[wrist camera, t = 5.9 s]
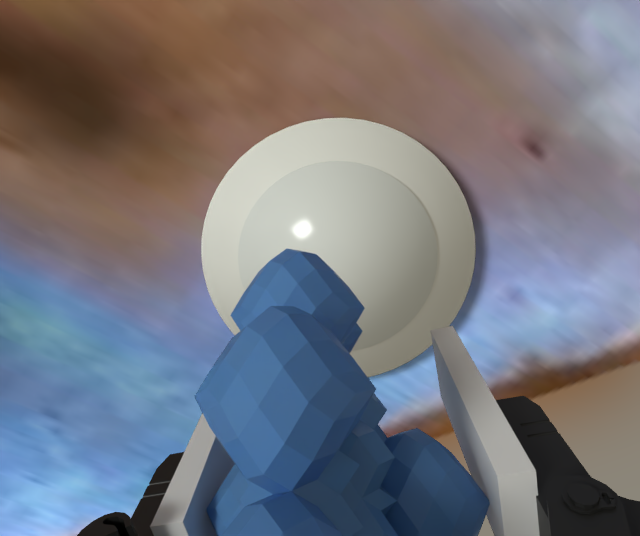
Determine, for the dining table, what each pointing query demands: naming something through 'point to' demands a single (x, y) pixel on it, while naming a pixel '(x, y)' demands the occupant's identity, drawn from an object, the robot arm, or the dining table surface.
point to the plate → (348, 229)
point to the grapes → (319, 424)
